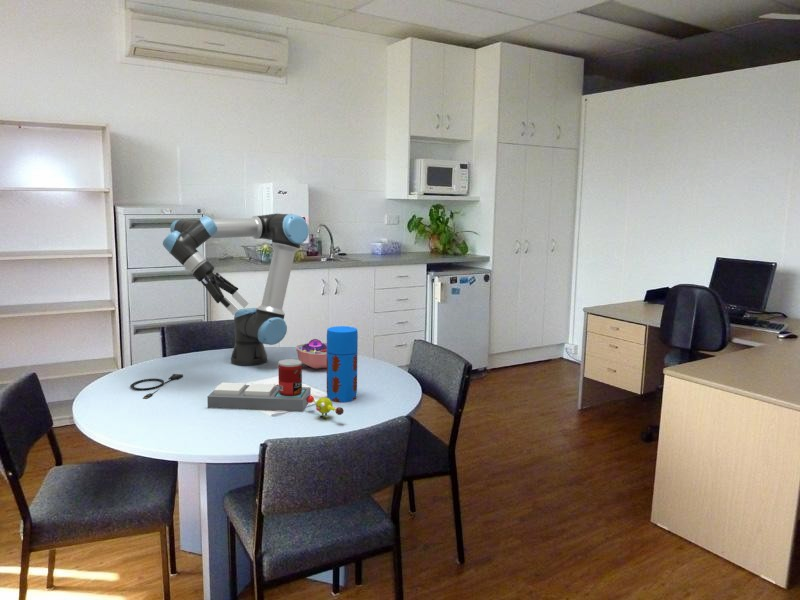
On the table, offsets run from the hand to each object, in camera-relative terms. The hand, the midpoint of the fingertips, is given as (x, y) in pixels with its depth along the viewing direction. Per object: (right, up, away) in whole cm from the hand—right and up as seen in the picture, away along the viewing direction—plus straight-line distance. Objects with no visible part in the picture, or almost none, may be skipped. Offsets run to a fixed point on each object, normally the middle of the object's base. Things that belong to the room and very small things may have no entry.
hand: (241, 308), depth 232 cm
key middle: (+10, -30, -14) cm, 35 cm away
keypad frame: (+10, -32, -13) cm, 36 cm away
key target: (+20, -32, -14) cm, 40 cm away
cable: (-35, -29, +3) cm, 46 cm away
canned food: (+20, -29, -14) cm, 38 cm away
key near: (-1, -30, -13) cm, 33 cm away
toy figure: (+33, -35, -26) cm, 55 cm away
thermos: (+37, -32, -6) cm, 49 cm away
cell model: (+23, -25, +34) cm, 48 cm away
